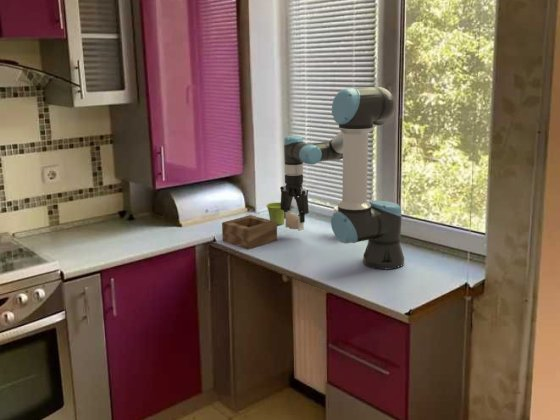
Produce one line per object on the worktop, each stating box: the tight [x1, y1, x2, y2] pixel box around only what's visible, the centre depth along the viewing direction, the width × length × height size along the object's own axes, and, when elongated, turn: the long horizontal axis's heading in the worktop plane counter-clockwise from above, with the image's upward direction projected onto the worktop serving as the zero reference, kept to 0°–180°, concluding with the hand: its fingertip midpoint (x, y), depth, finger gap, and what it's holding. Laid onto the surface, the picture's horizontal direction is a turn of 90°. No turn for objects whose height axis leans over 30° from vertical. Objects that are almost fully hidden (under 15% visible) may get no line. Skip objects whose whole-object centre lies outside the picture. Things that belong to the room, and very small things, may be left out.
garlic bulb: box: [285, 210, 298, 230], centre depth 268 cm, size 7×6×8 cm
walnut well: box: [221, 214, 278, 250], centre depth 267 cm, size 16×16×8 cm
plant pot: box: [266, 202, 285, 226], centre depth 291 cm, size 9×9×9 cm
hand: (294, 228), depth 269 cm, fingers closed on garlic bulb, 6 cm apart
